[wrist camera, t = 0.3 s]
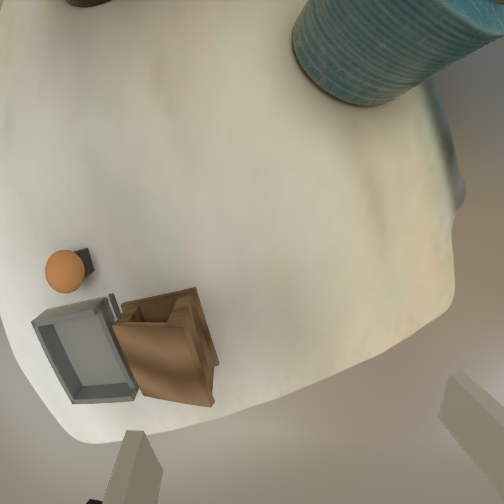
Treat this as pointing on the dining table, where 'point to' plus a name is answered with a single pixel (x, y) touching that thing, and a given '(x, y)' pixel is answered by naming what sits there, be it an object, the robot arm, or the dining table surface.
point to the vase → (389, 42)
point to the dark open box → (85, 260)
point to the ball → (65, 271)
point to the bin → (86, 352)
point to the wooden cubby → (169, 347)
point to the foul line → (115, 305)
